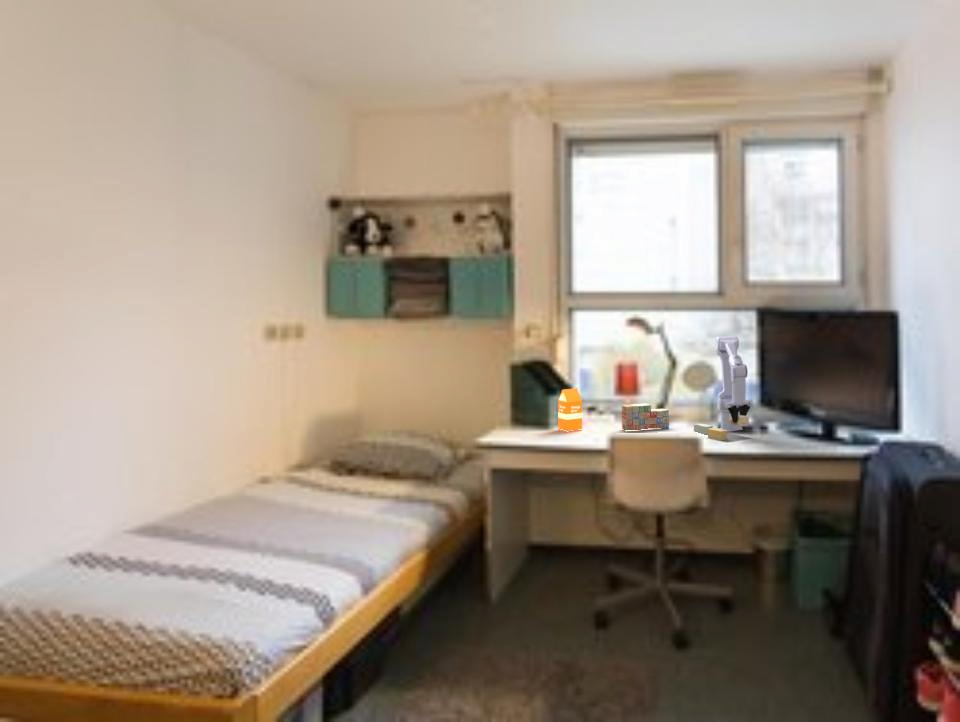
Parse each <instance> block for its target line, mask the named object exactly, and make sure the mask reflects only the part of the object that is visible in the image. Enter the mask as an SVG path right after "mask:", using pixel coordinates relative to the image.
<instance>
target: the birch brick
mask: <svg viewBox="0 0 960 722" xmlns="http://www.w3.org/2000/svg"><path fill="white" fill-rule="evenodd" d="M749 421H750V417H749V416H748V415H746V416H744V415H738V421H737V423H734V422H733V421H732V417H731V415H729V424H733V425H739V426H742V427H747V426H749Z"/></svg>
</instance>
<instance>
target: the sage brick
mask: <svg viewBox="0 0 960 722" xmlns="http://www.w3.org/2000/svg"><path fill="white" fill-rule="evenodd" d="M710 428H714V426H713V425H710V424H706V423H695V424H693V432H694V431H695V432H698V433H701V434H704V435H708V429H710Z"/></svg>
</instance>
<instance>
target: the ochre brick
mask: <svg viewBox="0 0 960 722" xmlns="http://www.w3.org/2000/svg"><path fill="white" fill-rule="evenodd" d="M727 433H728V431H727V430H723V429H717V427H713V428H710V429H708V438H707V439H709V438H712V439H711V440H713V439H717V440H716V441H718V440H726V439H727Z"/></svg>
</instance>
